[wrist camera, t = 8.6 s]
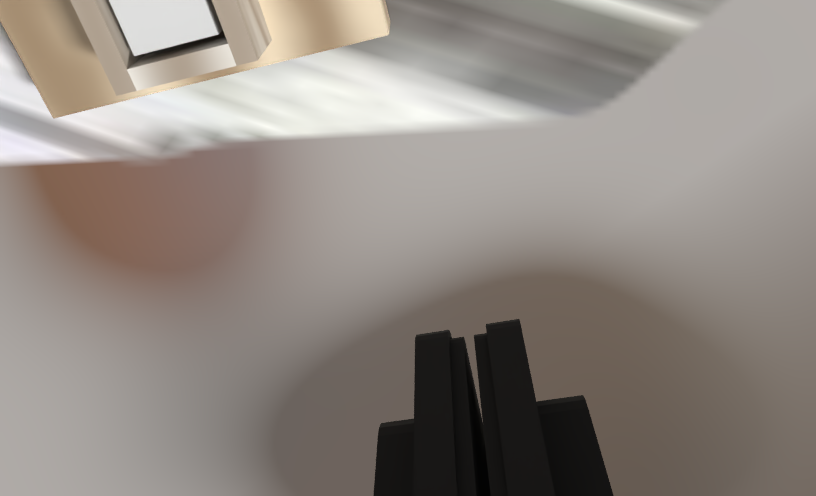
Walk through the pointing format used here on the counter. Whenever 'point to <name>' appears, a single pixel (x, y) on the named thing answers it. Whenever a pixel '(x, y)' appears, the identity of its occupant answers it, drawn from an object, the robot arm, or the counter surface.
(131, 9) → the pale grey key
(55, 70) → the key panel
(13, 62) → the counter surface
